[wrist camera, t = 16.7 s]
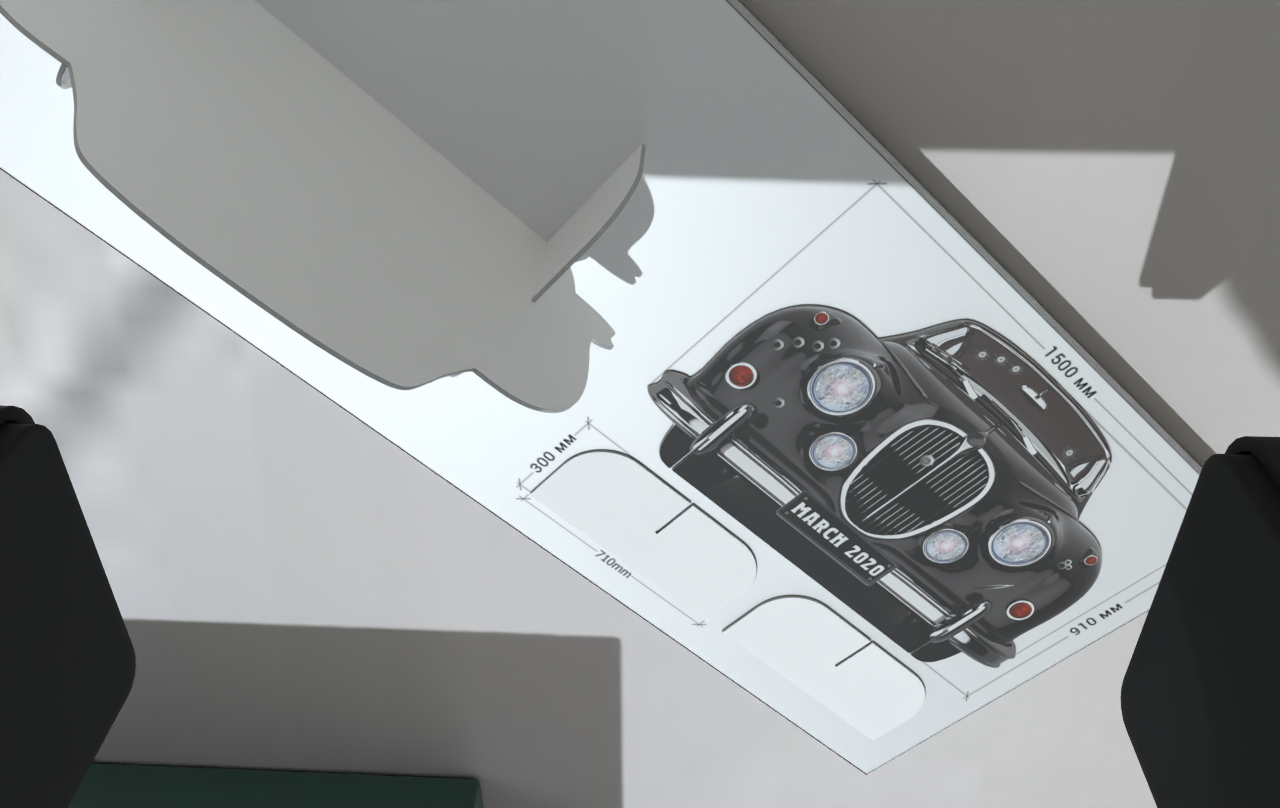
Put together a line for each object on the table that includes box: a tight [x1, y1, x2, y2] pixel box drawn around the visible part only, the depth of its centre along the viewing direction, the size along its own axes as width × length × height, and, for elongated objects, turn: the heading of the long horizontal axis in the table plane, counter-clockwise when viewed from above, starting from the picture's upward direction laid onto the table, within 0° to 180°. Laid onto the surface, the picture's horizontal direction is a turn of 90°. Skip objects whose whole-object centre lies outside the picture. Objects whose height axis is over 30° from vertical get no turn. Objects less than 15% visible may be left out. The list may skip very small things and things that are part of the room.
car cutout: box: [0, 0, 1202, 775], centre depth 11 cm, size 15×7×4 cm, turn 47°
